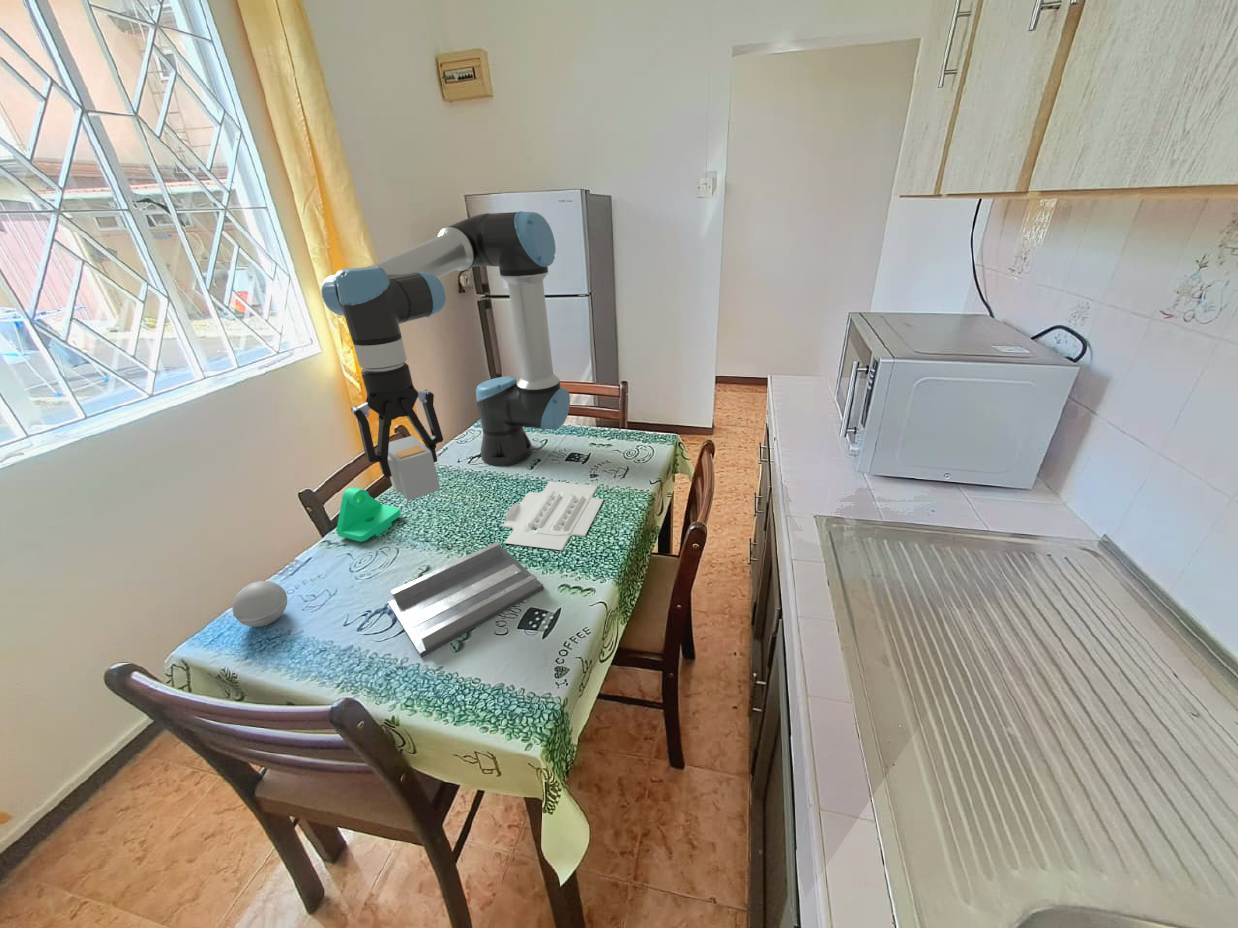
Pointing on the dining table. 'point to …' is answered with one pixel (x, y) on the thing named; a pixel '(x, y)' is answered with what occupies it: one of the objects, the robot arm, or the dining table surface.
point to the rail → (461, 596)
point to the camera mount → (363, 516)
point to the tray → (552, 515)
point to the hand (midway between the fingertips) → (415, 483)
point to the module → (413, 467)
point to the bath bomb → (259, 603)
